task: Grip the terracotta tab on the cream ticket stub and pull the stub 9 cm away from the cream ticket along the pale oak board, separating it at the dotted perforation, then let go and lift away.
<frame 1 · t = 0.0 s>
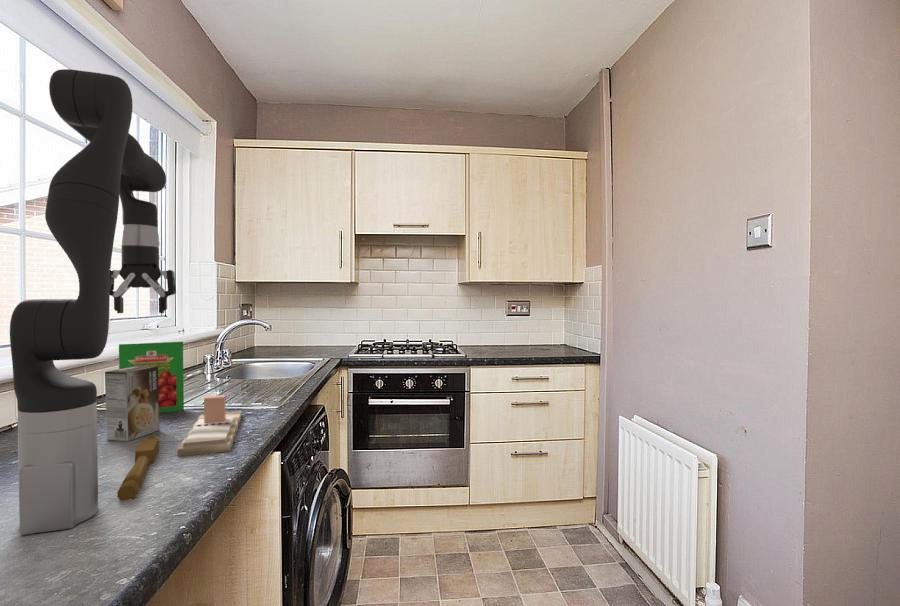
hand: (141, 313, 113), 29 cm above the countertop, fingers open, 8 cm apart
tap handle: (141, 472, 91), on the countertop
stub: (215, 410, 117), point 5 cm above the countertop, slide at 0.0 cm
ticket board: (213, 433, 115), on the countertop
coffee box: (133, 435, 113), on the countertop
tomato puree packet: (152, 414, 134), on the countertop
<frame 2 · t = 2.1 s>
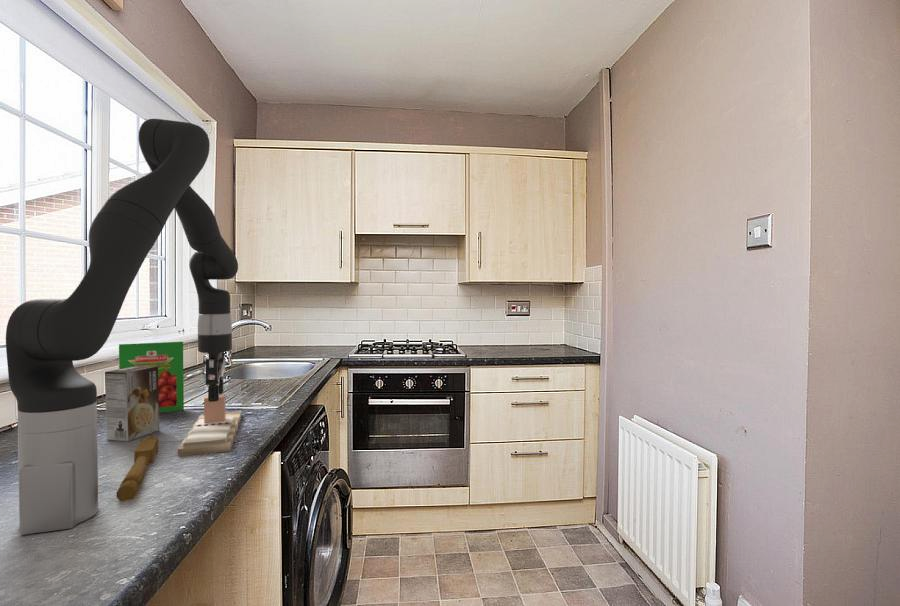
hand: (216, 397, 117), 8 cm above the countertop, fingers open, 8 cm apart
nothing on the countertop moved.
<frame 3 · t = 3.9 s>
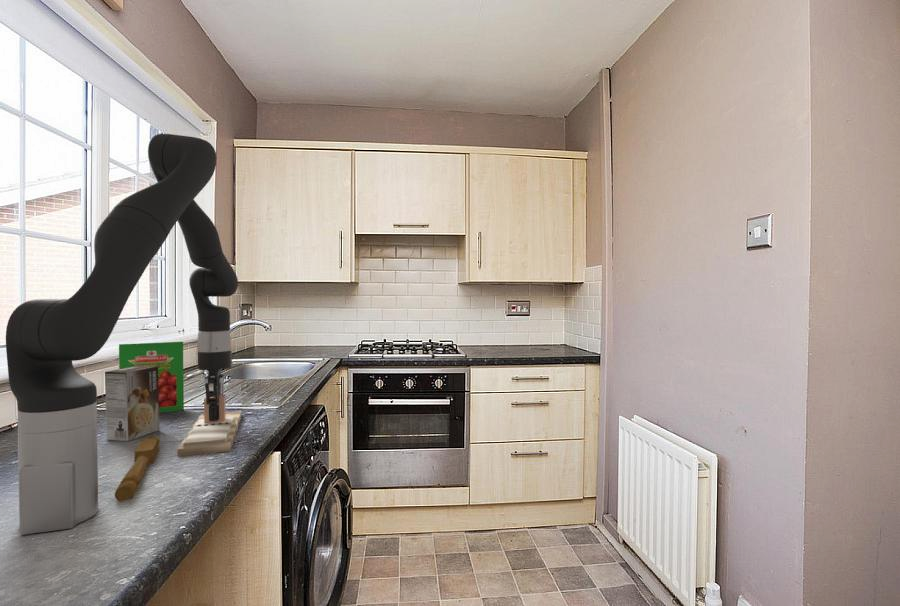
hand: (215, 418, 117), 3 cm above the countertop, fingers closed on stub, 3 cm apart
stub: (215, 410, 117), point 5 cm above the countertop, slide at 0.0 cm, touching gripper
everything else where it was.
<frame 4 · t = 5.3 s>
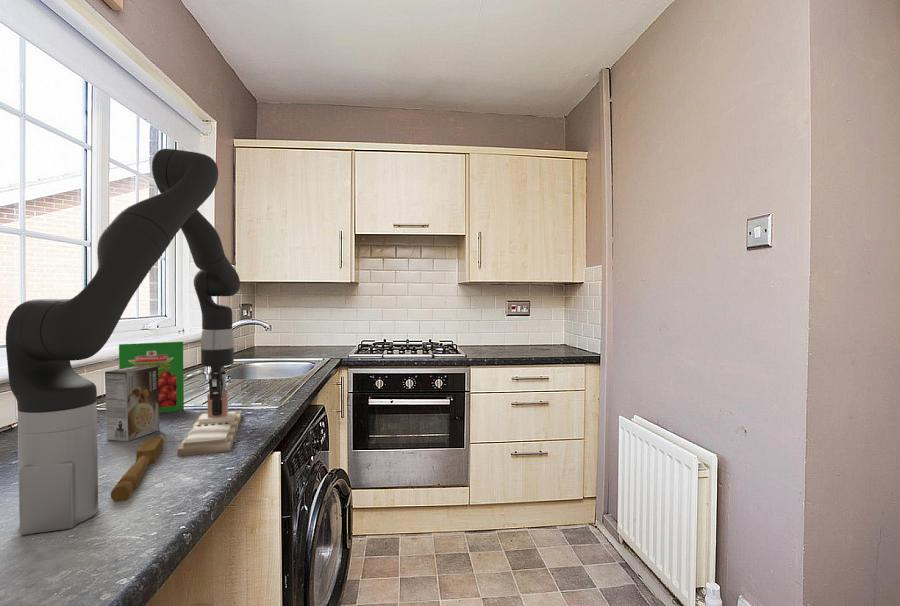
hand: (218, 412, 122), 3 cm above the countertop, fingers closed on stub, 3 cm apart
stub: (217, 405, 122), point 5 cm above the countertop, slide at 5.4 cm, touching gripper
everything else where it was.
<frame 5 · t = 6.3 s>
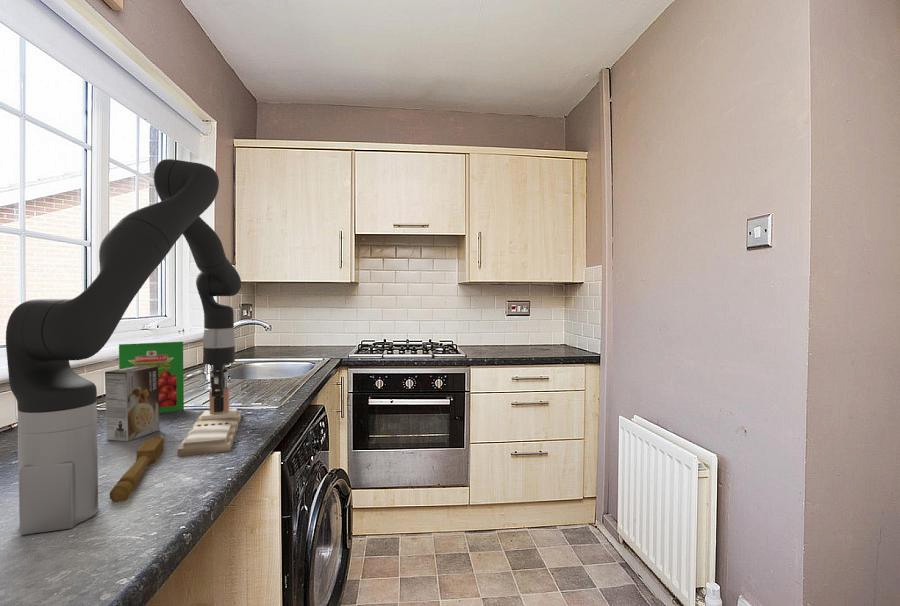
hand: (219, 409, 125), 3 cm above the countertop, fingers closed on stub, 3 cm apart
stub: (219, 402, 125), point 5 cm above the countertop, slide at 8.9 cm, touching gripper
everything else where it was.
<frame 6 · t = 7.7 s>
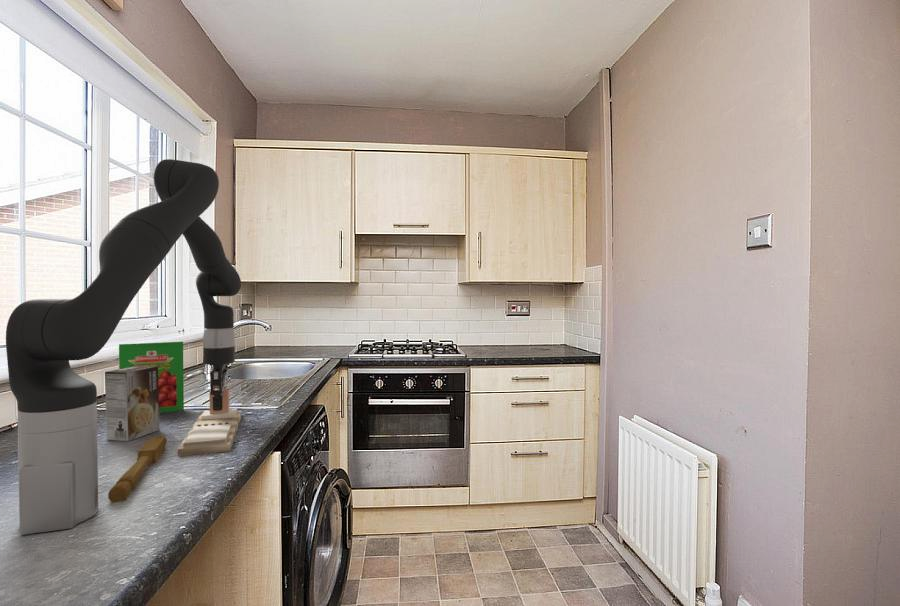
hand: (219, 406, 125), 4 cm above the countertop, fingers open, 7 cm apart
stub: (219, 402, 125), point 5 cm above the countertop, slide at 8.9 cm
everything else where it was.
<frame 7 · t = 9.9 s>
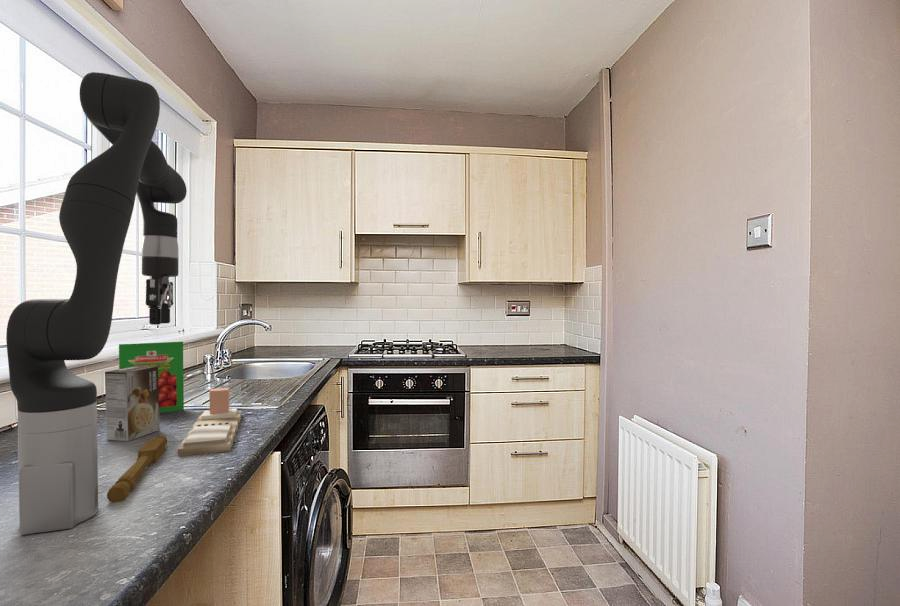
hand: (160, 323, 113), 27 cm above the countertop, fingers open, 8 cm apart
nothing on the countertop moved.
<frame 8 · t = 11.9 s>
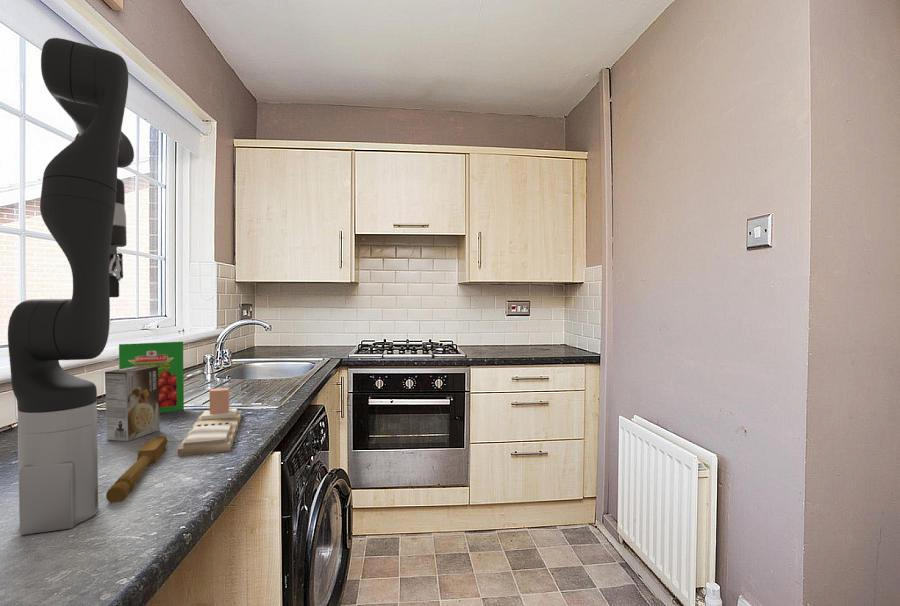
hand: (106, 297, 105), 33 cm above the countertop, fingers open, 8 cm apart
nothing on the countertop moved.
at the end: stub slide at 8.9 cm; the gripper is holding nothing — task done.
